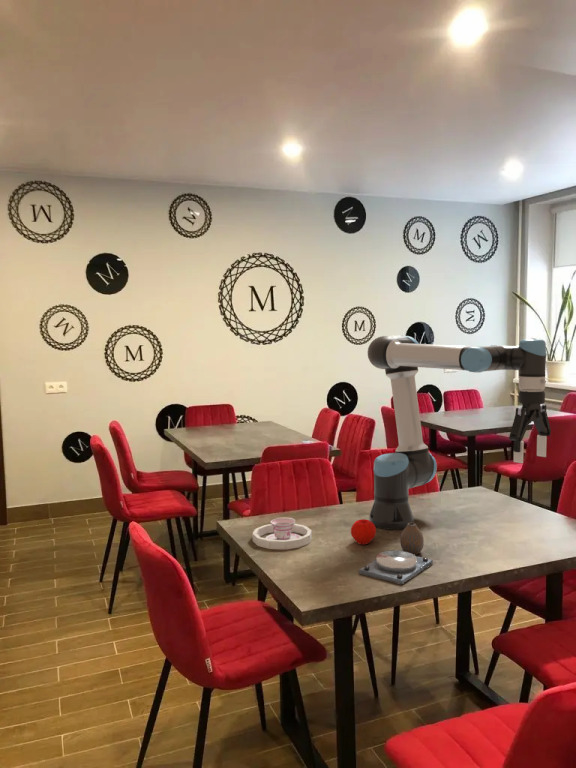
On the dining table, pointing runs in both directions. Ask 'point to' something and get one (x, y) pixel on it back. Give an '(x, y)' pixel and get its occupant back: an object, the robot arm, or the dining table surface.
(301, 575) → the dining table surface
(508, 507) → the dining table surface
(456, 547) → the dining table surface
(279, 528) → the teacup
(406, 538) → the vase
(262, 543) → the saucer ring
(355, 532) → the apple
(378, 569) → the duct flange
